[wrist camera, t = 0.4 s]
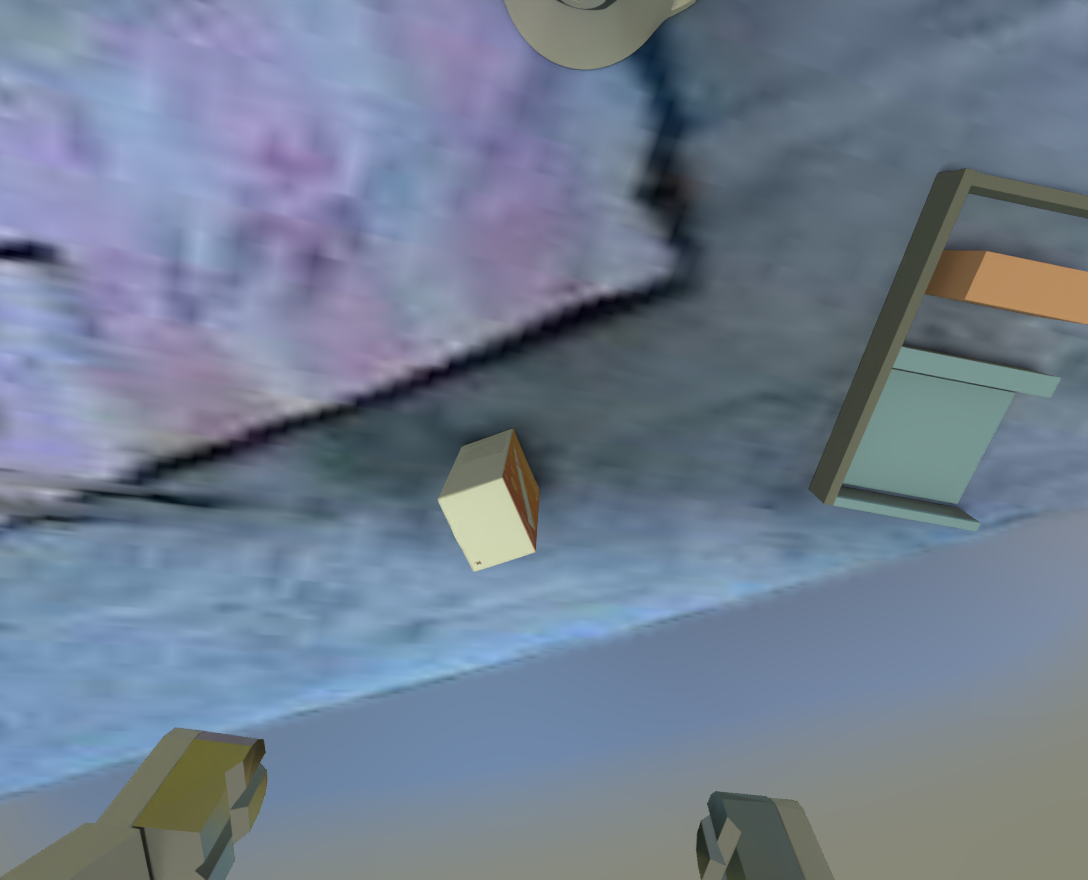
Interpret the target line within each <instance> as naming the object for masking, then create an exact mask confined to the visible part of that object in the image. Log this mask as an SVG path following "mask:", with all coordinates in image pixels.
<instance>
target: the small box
mask: <svg viewBox="0 0 1088 880" xmlns="http://www.w3.org/2000/svg"><path fill="white" fill-rule="evenodd" d="M539 495H540V489H539V487H538V485H537V483H536V481H535V478H534V476H533V474H532V472H531V469H530V467H529V465H528V463H527V460H526V458H525V456H524V453H523V451H522V448H521V446H520V443H519V441H518V439H517V436H516V434H515V431H514V429H509V430H507V431H504V432H501V433H498V434H496V435H493V436H490V437H487V438H484V439H482V440H479V441H476V442H473V443H470V444H467V445H465V446H462V447H461V449H460V452H459V454H458V456H457V458H456V460H455V463H454V465H453V467H452V469H451V472H450V474H449V476H448V478H447V480H446V483H445V485H444V487H443V489H442V491H441V494H440V496H439V498H438V502H439V504H440V506H441V508H442V510H443V513H444V515H445V517H446V519H447V521H448V523H449V525H450V527H451V529H452V531H453V534H454V536H455V538H456V540H457V542H458V544H459V546H460V547H461V549H462V550H463V552H464V554H465V556H466V558H467V560H468V562H469V564H470V566H471V568H472V570H473V571H474V572H476V571H479V570H481V569H485V568H488V567H491V566H494V565H497V564H500V563H503V562H507V561H510V560H513V559H516V558H519V557H522V556H525V555H528V554H531V553H534V552H536V538H537V523H538V508H539Z"/></svg>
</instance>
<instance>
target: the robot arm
mask: <svg viewBox="0 0 1088 880" xmlns="http://www.w3.org/2000/svg"><path fill="white" fill-rule="evenodd" d="M696 1H697V0H504V2H505V5H506V8H507V10H508V12H509V15H510V17H511V19H512V21H513V23H514V24H515V26H516V28H517V29H518V31H519V32H520V34H521V35H522V37H523V38H524V39H525V40H526V41H527V42H528V44H529V45H530V46H531V47H532V48H534V49H535V50H536V51H537V52H538V53H539V54H541V55H542V56H544V57H545V58H547V59H548V60H550V61H552V62H554V63H556V64H559V65H562V66H565V67H568V68H573V69H582V70H586V69H597V68H602V67H606V66H609V65H612V64H615V63H617V62H619V61H621V60H623V59H625V58H626V57H628V56H629V55H631V54H632V53H633V52H635V51H636V50H637V49H638V48H639V47H641V46H642V45H643V44H644V43H645V42H646V41H647V40H648V38H649V37H650V36H651V35H652V34H653V33H654V31H655V30H656V29H657V28H658V27H659V26H660V25H661V24H662V23H663V22H664V21H665V20H666V19H667V18H669V17H671V16H673V15H675V14H677V13H679V12H681V11H683V10H685V9H687V8H688V7H690V6H691V5H693V4H694V3H695V2H696ZM265 753H266V751H265V744H264V739H258V738H250V737H243V736H236V735H228V734H221V733H214V732H206V731H201V730H192V729H184V728H176V727H175V728H174V729H173V730H171V731H170V732H169V733H167V734H166V735H165V736H164V737H163V738H162V739H161V740H160V742H159V743H158V744H157V745H156V747H155V748H154V749H153V750H152V752H151V753H150V754H149V756H148V757H147V758H146V759H145V761H144V762H143V763H142V764H141V766H140V767H139V768H138V770H137V771H136V772H135V773H134V775H133V776H132V777H131V778H130V780H129V781H128V782H127V783H126V785H125V786H124V787H123V789H122V790H121V791H120V792H119V794H118V795H117V796H116V797H115V799H114V800H113V801H112V803H111V804H110V805H109V806H108V808H107V809H106V810H105V811H104V813H103V814H102V815H101V817H100V818H99V819H98V820H97V822H96V823H84V824H83V825H81V826H80V827H78V828H76V829H75V830H73V831H72V832H70V833H69V834H67V835H66V836H64V837H62V838H61V839H59V840H58V841H56V842H55V843H53V844H51V845H50V846H48V847H47V848H45V849H44V850H42V851H40V852H39V853H37V854H36V855H34V856H33V857H31V858H30V859H28V860H26V861H25V862H23V863H22V864H20V865H18V866H17V867H16V868H14V869H12V870H11V871H9V872H7V873H6V874H4V875H3V876H1V877H0V880H225V879H226V877H227V875H228V873H229V871H230V869H231V867H232V865H233V863H234V861H235V856H234V846H233V845H234V844H235V843H236V842H237V841H239V840H240V839H241V838H242V837H244V836H245V835H246V834H247V833H249V832H250V830H251V828H252V826H253V824H254V822H255V820H256V818H257V816H258V814H259V811H260V809H261V806H262V803H263V799H264V797H265V794H266V787H267V770H266V769H265V768H264V767H263V765H262V764H261V763H260V762H261V760H262V758H263V756H264V754H265ZM707 805H708V809H709V813H710V815H709V816H707V817H706V818H704V819H702V820H701V822H700V825H699V829H698V831H697V842H696V853H697V862H698V868H699V873H700V878H701V880H835V879H834V877H833V875H832V872H831V870H830V868H829V866H828V863H827V861H826V859H825V857H824V854H823V852H822V850H821V848H820V845H819V843H818V841H817V839H816V836H815V834H814V832H813V830H812V827H811V825H810V823H809V821H808V818H807V816H806V814H805V811H804V809H803V807H802V806H801V805H800V804H799V803H798V802H797V801H794V800H788V799H777V798H768V797H766V796H758V795H748V794H738V793H728V792H718V791H715V792H714V793H712V794H711V795H710V798H709V801H708V803H707Z"/></svg>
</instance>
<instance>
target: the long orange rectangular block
mask: <svg viewBox="0 0 1088 880" xmlns="http://www.w3.org/2000/svg"><path fill="white" fill-rule="evenodd" d="M925 294H928V295H933V296H938V297H943V298H947V299H952V300H957V301H962V302H967V303H972V304H977V305H982V306H987V307H992V308H997V309H1002V310H1007V311H1012V312H1017V313H1022V314H1027V315H1032V316H1037V317H1043V318H1049V319H1056V320H1062V321H1068V322H1074V323H1081V324H1087V325H1088V272H1085V271H1081V270H1076V269H1071V268H1066V267H1061V266H1056V265H1052V264H1047V263H1042V262H1037V261H1032V260H1027V259H1023V258H1018V257H1013V256H1008V255H1003V254H998V253H994V252H989V251H964V250H943V252H942V254H941V257H940V259H939V261H938V264H937V266H936V268H935V271H934V273H933V275H932V277H931V280H930V282H929V284H928V287H927V289H926V291H925Z"/></svg>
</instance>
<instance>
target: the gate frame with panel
mask: <svg viewBox="0 0 1088 880" xmlns="http://www.w3.org/2000/svg"><path fill="white" fill-rule="evenodd" d="M968 193H970V194H975V195H980V196H985V197H989V198H994V199H999V200H1003V201H1008V202H1013V203H1018V204H1022V205H1027V206H1032V207H1036V208H1041V209H1046V210H1051V211H1055V212H1060V213H1065V214H1069V215H1074V216H1079V217H1084V218H1088V196H1085V195H1080V194H1075V193H1071V192H1066V191H1061V190H1057V189H1052V188H1047V187H1043V186H1038V185H1033V184H1029V183H1024V182H1019V181H1015V180H1010V179H1005V178H1001V177H996V176H991V175H987V174H982V173H978V172H977V171H976V170H971V169H967V168H966V169H960V170H954V171H948V172H943V173H938V174H937V176H936V179H935V181H934V184H933V186H932V189H931V191H930V193H929V196H928V198H927V201H926V203H925V206H924V208H923V211H922V213H921V215H920V218H919V220H918V223H917V225H916V228H915V230H914V233H913V235H912V238H911V240H910V242H909V245H908V247H907V250H906V252H905V255H904V257H903V260H902V262H901V264H900V267H899V269H898V272H897V274H896V277H895V279H894V282H893V284H892V286H891V289H890V291H889V294H888V296H887V299H886V301H885V304H884V306H883V309H882V311H881V313H880V316H879V318H878V321H877V323H876V326H875V328H874V331H873V333H872V335H871V338H870V340H869V343H868V345H867V348H866V350H865V353H864V355H863V358H862V360H861V362H860V365H859V367H858V370H857V372H856V375H855V377H854V380H853V382H852V384H851V387H850V389H849V392H848V394H847V397H846V399H845V402H844V404H843V407H842V409H841V411H840V414H839V416H838V419H837V421H836V424H835V426H834V429H833V431H832V433H831V436H830V438H829V441H828V443H827V446H826V448H825V451H824V453H823V456H822V458H821V460H820V463H819V465H818V468H817V470H816V473H815V475H814V478H813V480H812V482H811V485H810V487H809V490H810V491H811V492H812V493H813V494H814V495H815V496H816V497H817V498H818V499H819V500H821V501H822V502H823V503H824V504H828V505H833V506H839V507H844V508H850V509H856V510H861V511H867V512H872V513H878V514H883V515H889V516H895V517H900V518H906V519H911V520H917V521H922V522H928V523H934V524H939V525H945V526H950V527H956V528H961V529H967V530H973V531H977V530H978V528H979V526H980V524H981V523H980V522H979V521H977V520H976V519H974V518H973V517H971V516H970V515H968V514H967V513H965V512H964V511H962V510H961V509H959V508H958V507H952V506H947V505H941V504H936V503H930V502H925V501H919V500H914V499H908V498H903V497H897V496H892V495H886V494H881V493H875V492H870V491H864V490H859V489H853V488H848V487H842V483H844V484H850V485H855V486H861V487H866V488H872V489H877V490H883V491H888V492H894V493H899V494H905V495H910V496H916V497H921V498H927V499H932V500H938V501H943V502H949V503H954V504H957V503H958V502H959V500H960V498H961V496H962V494H963V492H964V490H965V488H966V486H967V485H968V483H969V481H970V479H971V477H972V475H973V473H974V471H975V469H976V467H977V466H978V464H979V462H980V460H981V458H982V456H983V454H984V452H985V450H986V448H987V447H988V445H989V443H990V441H991V439H992V437H993V435H994V433H995V431H996V429H997V428H998V426H999V424H1000V422H1001V420H1002V418H1003V416H1004V414H1005V412H1006V411H1007V409H1008V407H1009V405H1010V403H1011V401H1012V399H1013V397H1014V395H1015V393H1014V392H1010V391H1005V390H999V389H994V388H989V387H984V386H979V385H974V384H968V383H963V382H958V381H953V380H948V379H943V378H937V377H932V376H927V375H922V374H917V373H912V372H906V371H901V370H896V369H892V368H898V369H903V370H908V371H913V372H919V373H924V374H929V375H934V376H939V377H944V378H950V379H955V380H960V381H965V382H970V383H975V384H980V385H986V386H991V387H996V388H1001V389H1006V390H1011V391H1017V392H1022V393H1027V394H1032V395H1037V396H1042V397H1048V398H1051V396H1052V394H1053V392H1054V391H1055V389H1056V387H1057V385H1058V383H1059V382H1060V380H1061V378H1059V377H1055V376H1052V375H1048V374H1044V373H1041V372H1037V371H1033V370H1029V369H1024V368H1019V367H1014V366H1009V365H1004V364H999V363H994V362H989V361H984V360H978V359H973V358H968V357H963V356H958V355H953V354H948V353H943V352H938V351H933V350H928V349H922V348H917V347H912V346H907V345H903V342H904V340H905V338H906V335H907V333H908V331H909V328H910V326H911V324H912V321H913V319H914V317H915V315H916V312H917V310H918V308H919V305H920V303H921V301H922V298H923V296H924V294H925V291H926V289H927V287H928V284H929V282H930V280H931V277H932V275H933V273H934V271H935V268H936V266H937V264H938V261H939V259H940V257H941V254H942V252H943V250H944V247H945V245H946V243H947V240H948V238H949V236H950V233H951V231H952V229H953V227H954V224H955V222H956V220H957V217H958V215H959V213H960V210H961V208H962V206H963V203H964V201H965V199H966V196H967V194H968Z"/></svg>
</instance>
